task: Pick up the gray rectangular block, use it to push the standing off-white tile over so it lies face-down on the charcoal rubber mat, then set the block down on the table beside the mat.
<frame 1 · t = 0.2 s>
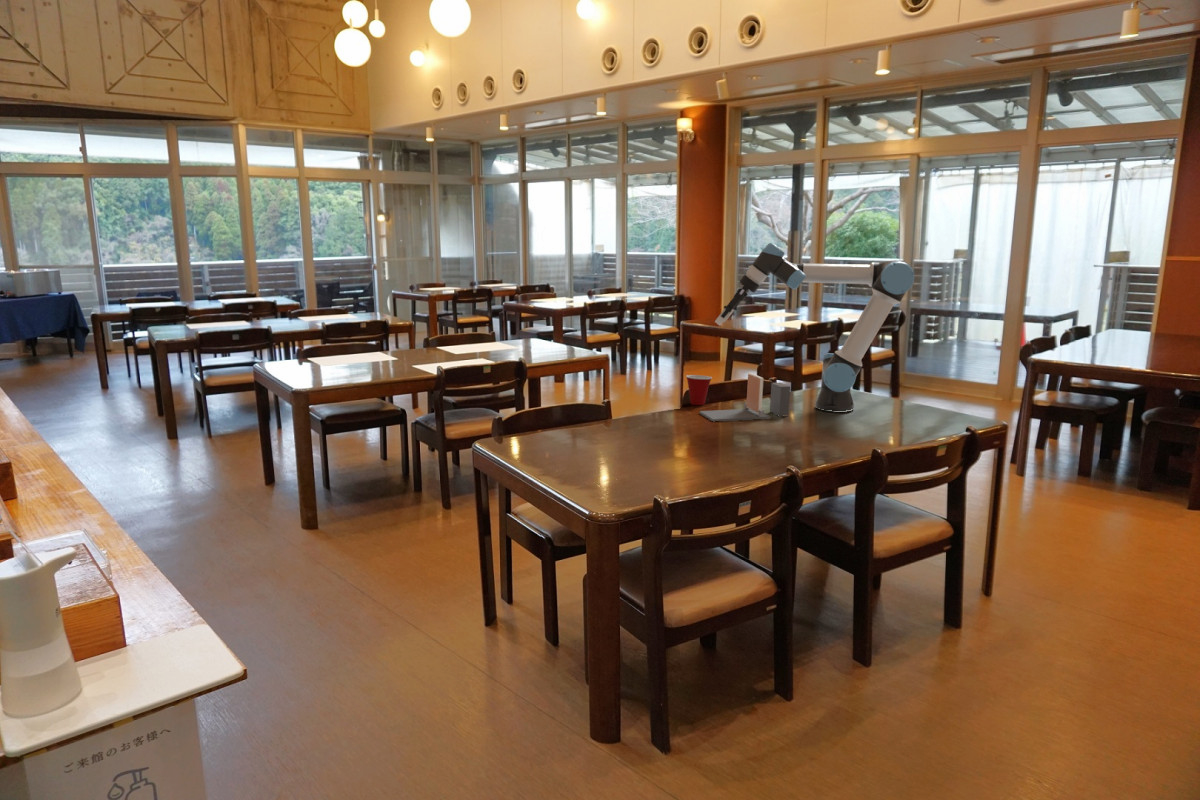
hand: (719, 322, 313), 35 cm above the table, tool tilted 35°, fingers open, 13 cm apart
plastic cup: (697, 404, 328), on the table
tile: (754, 393, 307), point 9 cm above the table, hinge at 0.0°
tile mat: (734, 416, 307), on the table
gray rectangular block: (778, 414, 312), on the table
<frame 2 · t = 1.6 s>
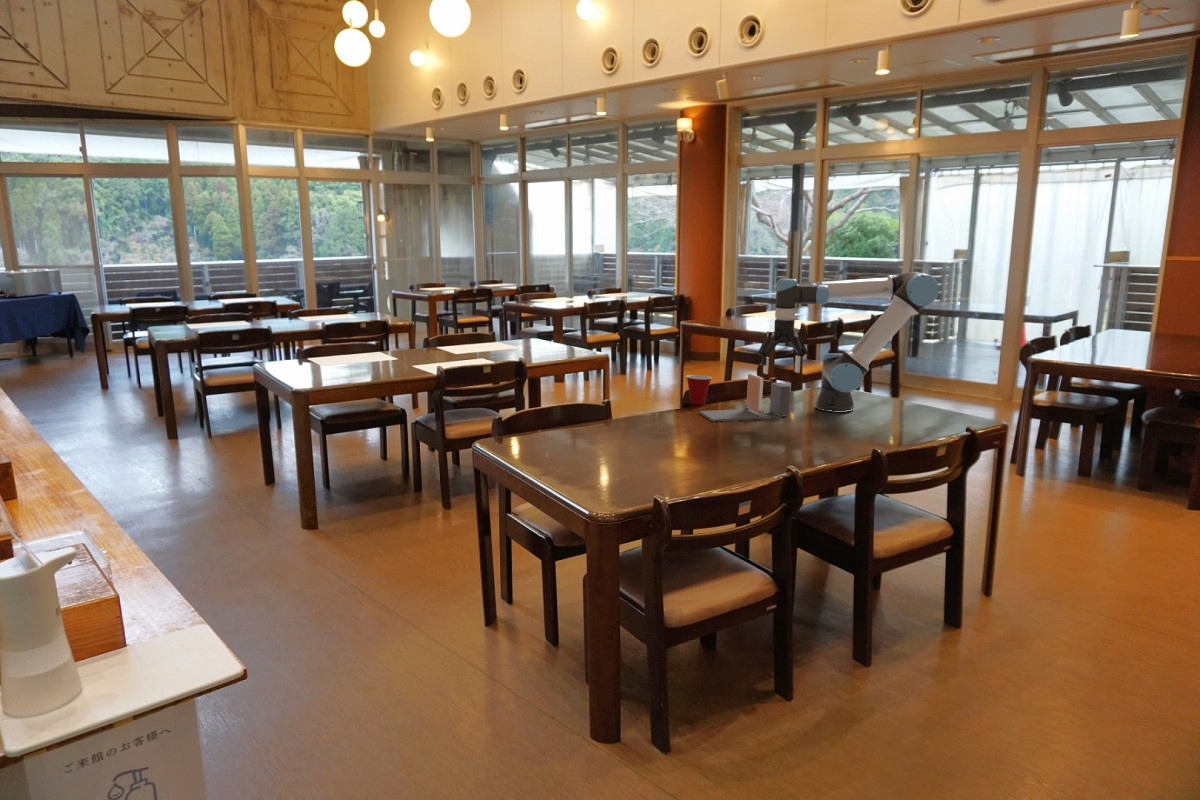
hand: (781, 372, 308), 17 cm above the table, tool pointing down, fingers open, 13 cm apart
nothing on the table moved.
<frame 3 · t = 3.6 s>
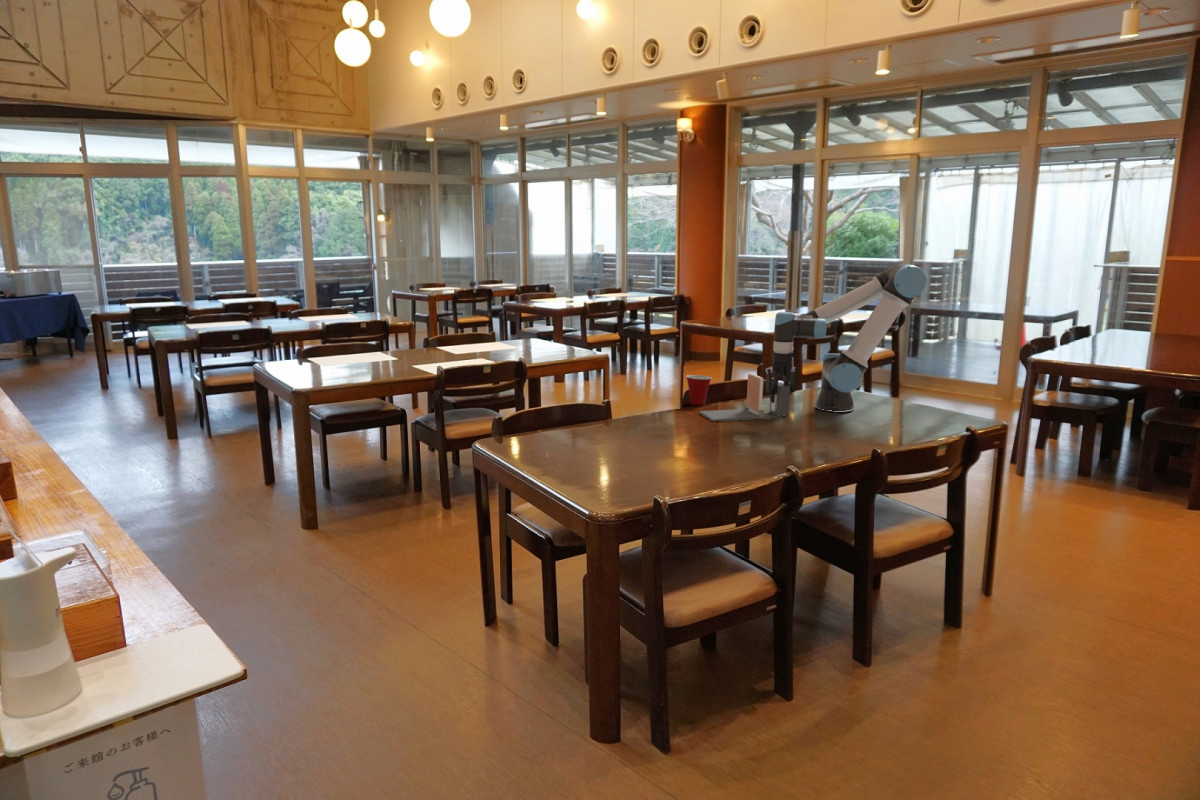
hand: (779, 410, 312), 2 cm above the table, tool pointing down, fingers closed on gray rectangular block, 4 cm apart
gray rectangular block: (778, 414, 312), on the table, touching gripper
everything else where it was.
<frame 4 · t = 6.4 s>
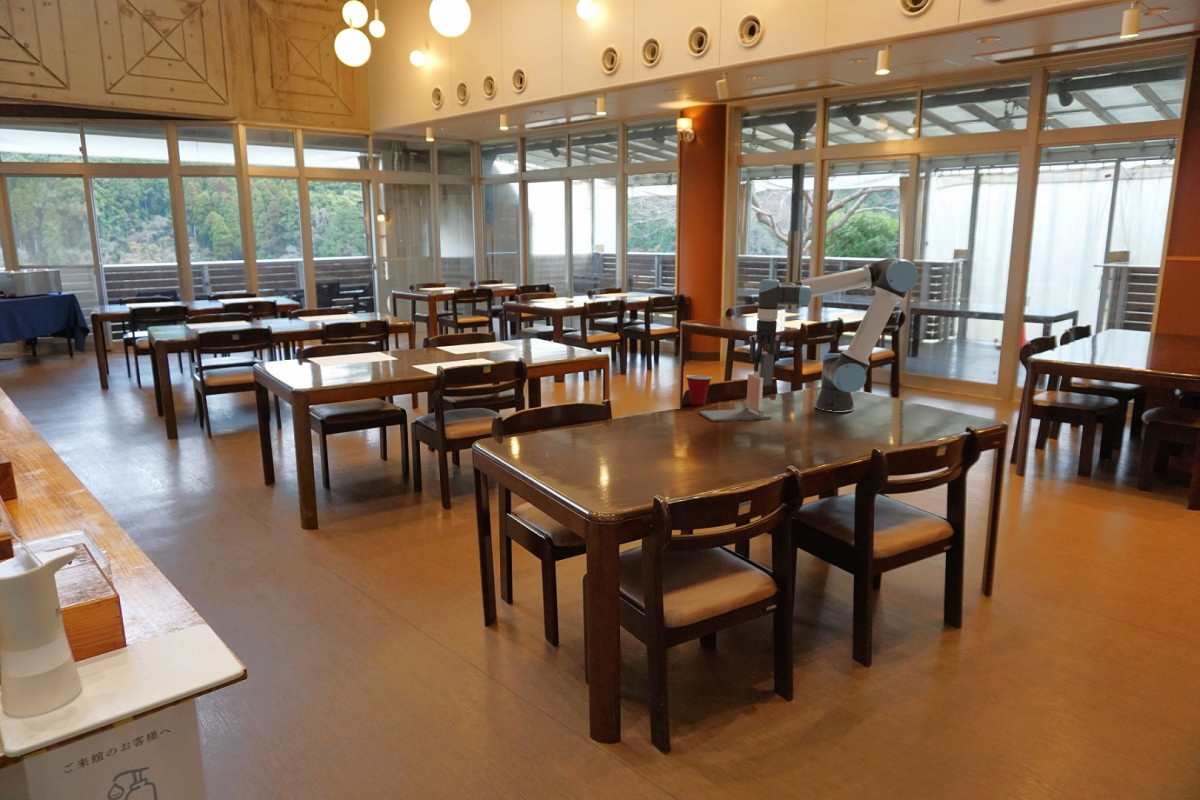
hand: (763, 379, 307), 14 cm above the table, tool pointing down, fingers closed on gray rectangular block, 4 cm apart
tile: (754, 393, 307), point 9 cm above the table, hinge at 0.2°, touching gripper
gray rectangular block: (762, 383, 307), point 13 cm above the table, touching gripper
everything else where it was.
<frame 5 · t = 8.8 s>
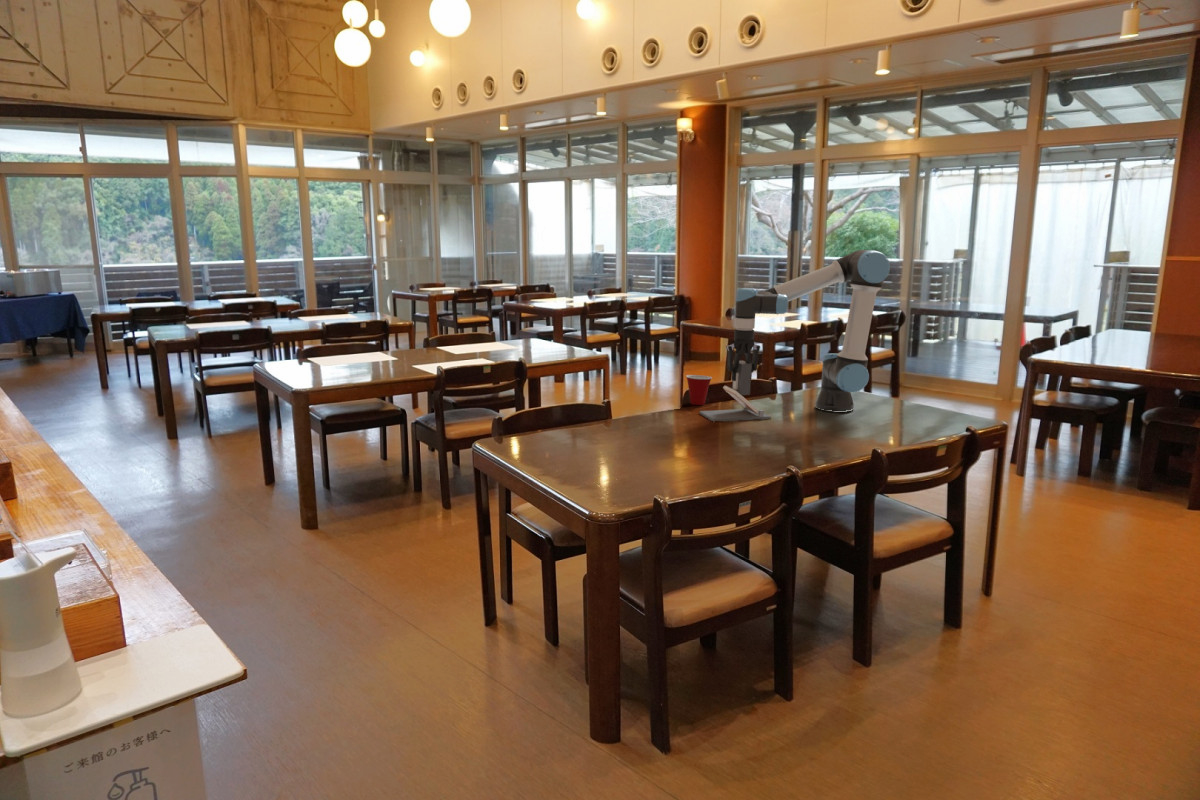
hand: (740, 388, 305), 11 cm above the table, tool pointing down, fingers closed on gray rectangular block, 4 cm apart
tile: (741, 400, 306), point 6 cm above the table, hinge at 50.5°, touching gray rectangular block
gray rectangular block: (740, 392, 306), point 9 cm above the table, touching gripper, tile
everything else where it was.
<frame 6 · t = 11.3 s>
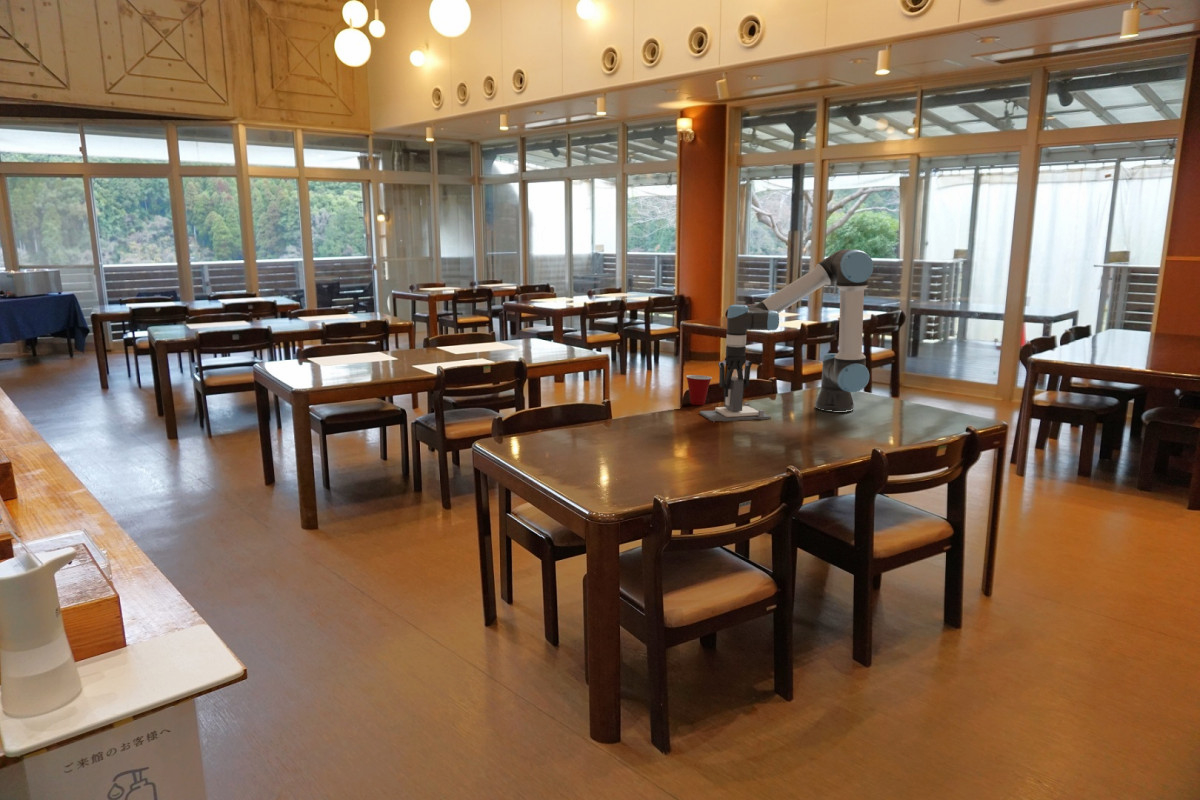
hand: (733, 404, 306), 5 cm above the table, tool pointing down, fingers closed on gray rectangular block, 4 cm apart
tile: (737, 411, 307), point 2 cm above the table, hinge at 90.1°
gray rectangular block: (733, 408, 306), point 3 cm above the table, touching gripper
everything else where it was.
when the fingers open (3 cm above the table, at t = 17.3 s): gray rectangular block drops 2 cm, on the table.
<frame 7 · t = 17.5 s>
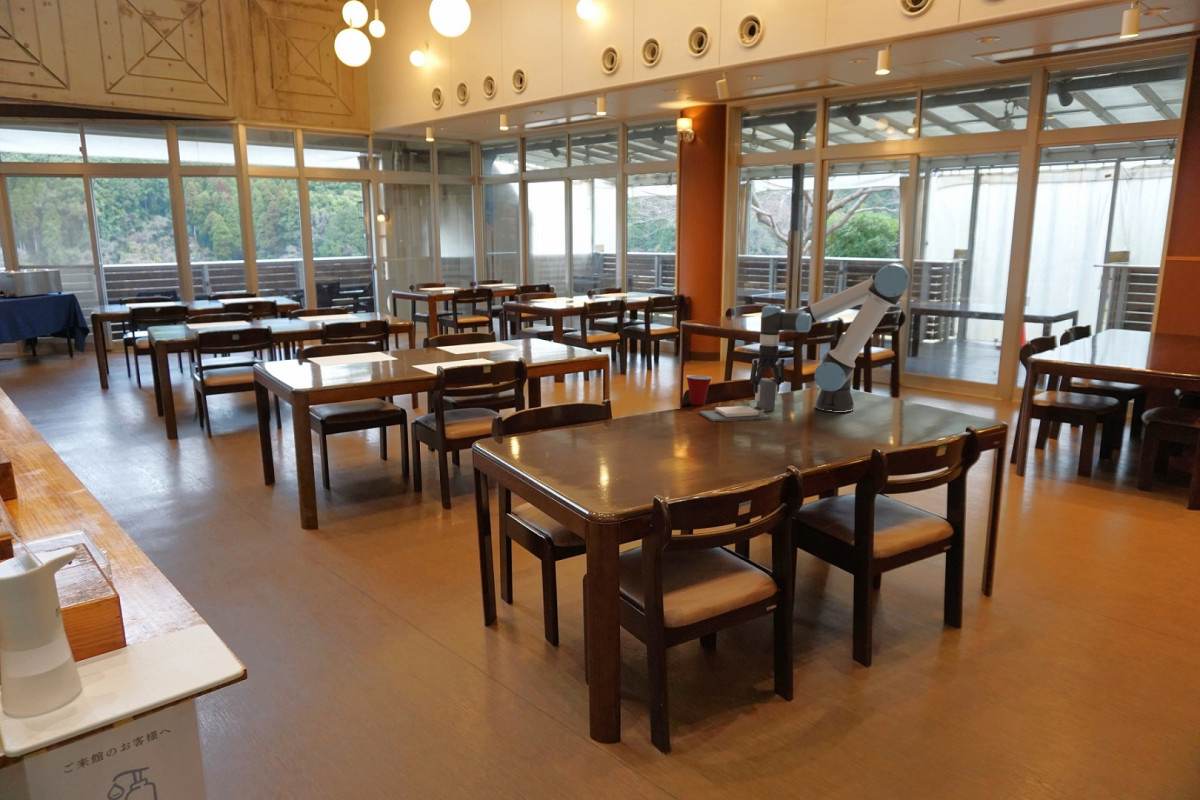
hand: (765, 400, 320), 4 cm above the table, tool pointing down, fingers open, 7 cm apart
gray rectangular block: (765, 408, 321), on the table
everything else where it was.
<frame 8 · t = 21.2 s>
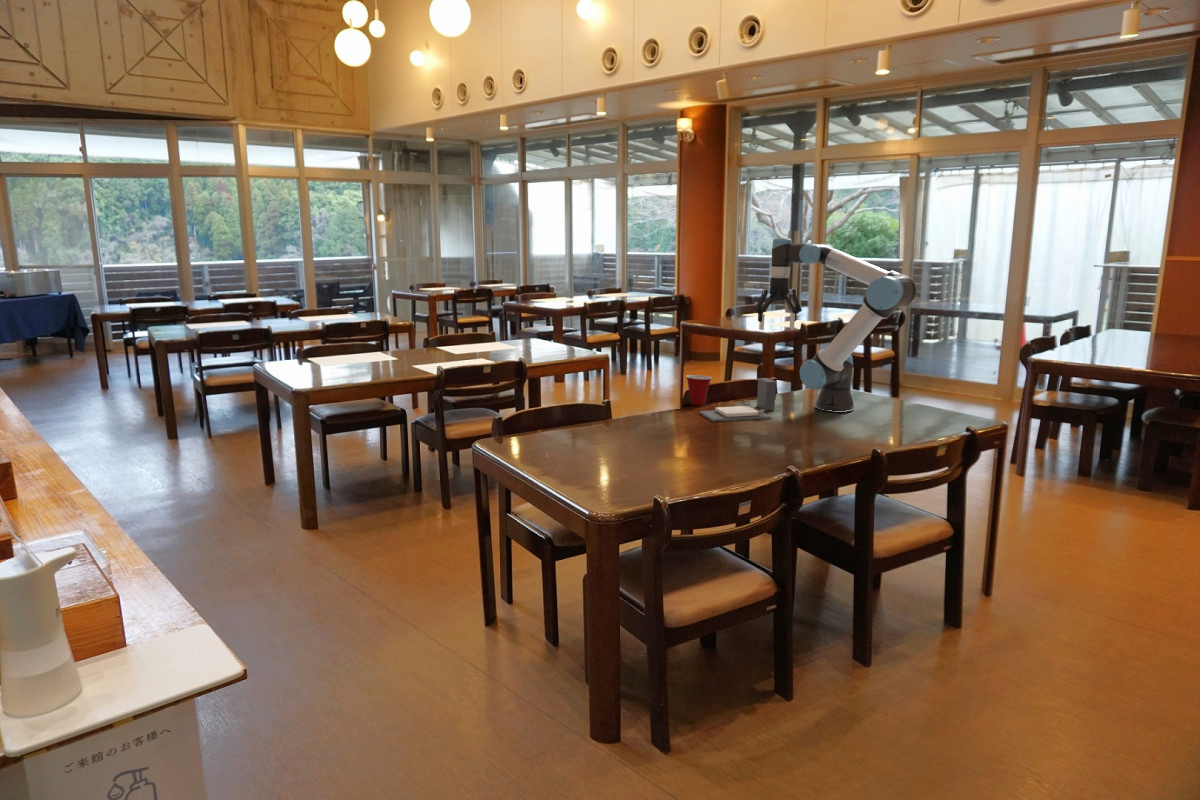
hand: (776, 329, 321), 32 cm above the table, tool pointing down, fingers open, 13 cm apart
nothing on the table moved.
at the end: tile at +90° (first picture: +0°); the gripper is holding nothing; gray rectangular block inside the target area (0.1 cm from its centre), on the table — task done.
